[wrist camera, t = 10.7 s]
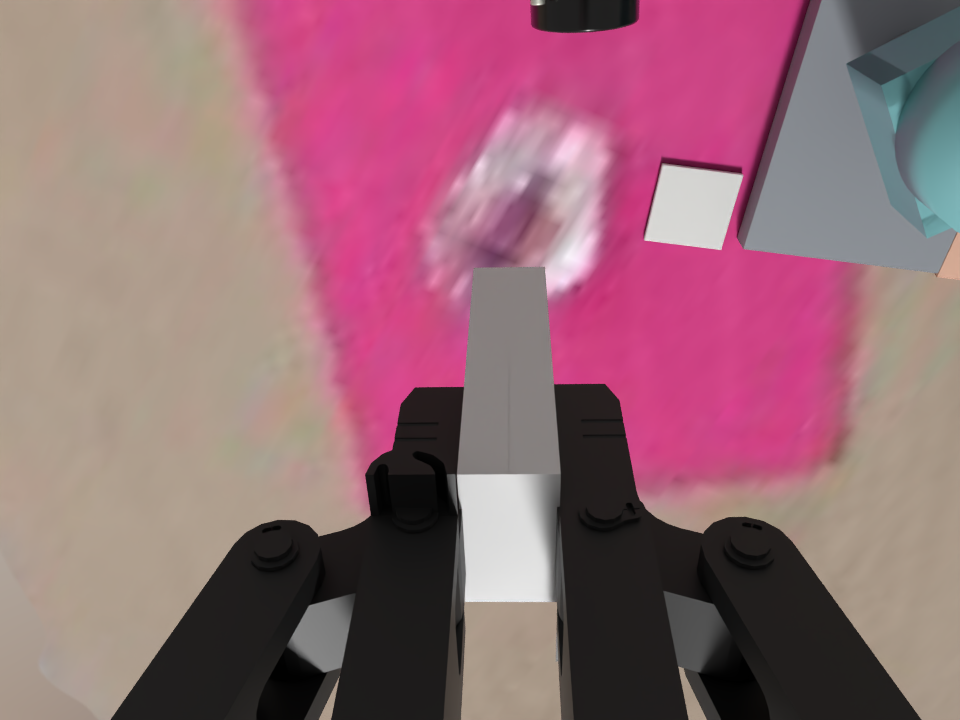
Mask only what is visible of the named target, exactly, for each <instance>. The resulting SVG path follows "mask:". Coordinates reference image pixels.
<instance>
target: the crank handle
mask: <svg viewBox="0 0 960 720" xmlns="http://www.w3.org/2000/svg"><path fill="white" fill-rule="evenodd" d="M846 65H847V69H848V72H849V75H850V78H851V81H852V84H853V87H854V91H855V94H856V97H857V100H858V103H859V106H860V109H861V113H862V116H863V119H864V122H865V125H866V128H867V132H868V135H869V138H870V141H871V144H872V147H873V150H874V154H875V157H876V160H877V163H878V166H879V169H880V172H881V176H882V179H883V182H884V185H885V188H886V191H887V194H888V198H889V201H890V204H891V206H892V207H893V208H894V209H896V210H897V211H898V212H899V213H900V214H901V215H902V216H903V217H904V218H905V219H906V220H908V221H909V222H910V223H911V224H912V225H913V226H914V227H915V228H916V229H917V230H918V231H919V232H921V233H922V234H923V235H924V236H925V237H926V238H930V237H932V236H934V235H937V234H939V233H941V232H944V231H946V230H948V229H951V228H953V229H954V230H955V231H957V232H958V233H960V6H959V7H957V8H955V9H953V10H951V11H949V12H947V13H946V14H944V15H942V16H940V17H938V18H936V19H934V20H932V21H930V22H928V23H926V24H924V25H922V26H920V27H918V28H916V29H914V30H912V31H910V32H908V33H906V34H904V35H902V36H900V37H898V38H896V39H894V40H892V41H890V42H888V43H886V44H884V45H882V46H880V47H878V48H876V49H874V50H872V51H870V52H868V53H866V54H864V55H862V56H860V57H858V58H856V59H854V60H852V61H850V62H848V63H846Z"/></svg>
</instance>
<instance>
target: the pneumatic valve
mask: <svg viewBox="0 0 960 720" xmlns="http://www.w3.org/2000/svg"><path fill="white" fill-rule="evenodd" d="M530 6H531V25H532V27H533V28H535V29H538V30H541V31H547V32H558V33H582V32H596V31H605V30H612V29H617V28H622V27H626V26H629V25H632V24H634V23H636V22H637V21H638V19H639V0H530Z"/></svg>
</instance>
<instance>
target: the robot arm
mask: <svg viewBox="0 0 960 720" xmlns="http://www.w3.org/2000/svg"><path fill="white" fill-rule="evenodd" d="M365 477H366V484H367V491H368V498H369V504H370V511H371V516H370V517H369V518H367V519H366V520H365V521H363V522H361V523H359V524H358V525H356V526H354V527H351V528H348V529H345V530H342V531H339V532H335V533H331V534H327V535H323V536H319V537H318V534H317V533H316V532H315V531H314V530H313V529H312V528H311V527H310V526H309V525H306V524H303V523H301V522H298V521H295V520H276V521H272V522H268V523H264V524H261V525H259V526H257V527H255V528H253V529H252V530H250V531H248V532H246V533H245V534H244V535H243V536H242V537H241V538H240V539H239V540H238V541H237V542H236V543H235V544H234V545H233V547H232V548H231V550H230V551H229V552H228V554H227V555H226V557H225V558H224V559H223V561H222V562H221V564H220V565H219V567H218V568H217V569H216V571H215V572H214V574H213V575H212V577H211V578H210V579H209V581H208V582H207V584H206V585H205V586H204V588H203V589H202V591H201V592H200V594H199V595H198V596H197V598H196V599H195V601H194V602H193V603H192V605H191V606H190V608H189V609H188V611H187V612H186V613H185V615H184V616H183V618H182V619H181V620H180V622H179V623H178V625H177V626H176V628H175V629H174V630H173V632H172V633H171V635H170V636H169V638H168V639H167V640H166V642H165V643H164V645H163V646H162V647H161V649H160V650H159V652H158V653H157V655H156V656H155V657H154V659H153V660H152V662H151V663H150V664H149V666H148V667H147V669H146V670H145V672H144V673H143V674H142V676H141V677H140V679H139V680H138V681H137V683H136V684H135V686H134V687H133V689H132V690H131V691H130V693H129V694H128V696H127V697H126V699H125V700H124V701H123V703H122V704H121V706H120V707H119V708H118V710H117V711H116V713H115V714H114V716H113V717H112V718H111V720H319V718H320V716H321V713H322V711H323V709H324V707H325V705H326V703H327V701H328V699H329V697H330V695H331V692H332V690H333V688H334V686H335V684H336V682H337V680H338V678H339V676H340V678H339V683H338V688H337V693H336V698H335V703H334V708H333V713H332V718H331V720H461V705H462V686H463V667H464V647H465V617H464V601H465V602H557V637H556V661H558V664H559V682H560V701H561V719H562V720H688V715H687V709H686V704H685V699H684V694H683V689H682V684H681V679H680V674H679V668H678V666H679V667H682V668H684V671H685V675H686V677H687V679H688V681H689V683H690V685H691V688H692V690H693V692H694V694H695V696H696V698H697V700H698V702H699V704H700V706H701V708H702V710H703V712H704V714H705V716H706V718H707V720H921V719H920V717H919V716H918V714H917V713H916V712H915V710H914V709H913V708H912V706H911V705H910V703H909V702H908V701H907V699H906V698H905V697H904V695H903V694H902V692H901V691H900V690H899V688H898V687H897V685H896V684H895V683H894V681H893V680H892V679H891V677H890V676H889V674H888V673H887V672H886V670H885V669H884V668H883V666H882V665H881V663H880V662H879V661H878V659H877V658H876V657H875V655H874V654H873V652H872V651H871V650H870V648H869V647H868V646H867V644H866V643H865V641H864V640H863V639H862V637H861V636H860V635H859V633H858V632H857V630H856V629H855V628H854V626H853V625H852V623H851V622H850V621H849V619H848V618H847V617H846V615H845V614H844V612H843V611H842V610H841V608H840V607H839V606H838V604H837V603H836V601H835V600H834V599H833V597H832V596H831V595H830V593H829V592H828V590H827V589H826V588H825V586H824V585H823V584H822V582H821V581H820V579H819V578H818V577H817V575H816V574H815V573H814V571H813V570H812V568H811V567H810V566H809V564H808V563H807V562H806V560H805V559H804V557H803V556H802V555H801V553H800V552H799V550H798V549H797V548H796V546H795V545H794V544H793V542H792V541H791V540H790V539H789V538H788V537H787V536H786V535H785V534H784V533H783V532H782V531H781V530H779V529H778V528H776V527H774V526H772V525H770V524H768V523H766V522H764V521H761V520H757V519H752V518H748V517H728V518H725V519H722V520H719V521H717V522H714V523H713V524H712V525H711V526H710V527H708V528H707V529H706V530H705V531H704V534H702V533H698V532H694V531H690V530H685V529H681V528H678V527H675V526H672V525H669V524H667V523H665V522H663V521H661V520H659V519H657V518H656V517H654V516H653V515H652V514H651V513H650V512H648V511H647V510H646V509H645V507H644V504H643V503H642V502H641V501H640V500H639V497H638V495H637V491H636V486H635V481H634V476H633V470H632V465H631V460H630V454H629V449H628V444H627V438H626V433H625V428H624V423H623V417H622V412H621V407H620V401H619V399H618V398H617V397H616V396H615V395H614V394H613V393H612V391H611V390H610V389H609V388H608V387H607V386H606V385H605V384H554V380H553V367H552V354H551V342H550V329H549V316H548V303H547V290H546V277H545V267H508V268H474V271H473V283H472V296H471V308H470V320H469V333H468V345H467V357H466V369H465V382H464V387H419V388H414V389H413V391H412V392H411V393H410V394H409V395H408V396H407V398H406V399H405V400H404V401H403V402H402V403H401V407H400V412H399V417H398V426H397V428H396V433H395V442H394V444H393V449H392V450H391V451H389V452H386V453H384V454H382V455H381V456H380V457H378V458H377V459H376V460H375V461H373V462H372V463H371V465H370V466H369V468H368V470H367V472H366V474H365ZM340 672H341V673H340Z"/></svg>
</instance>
